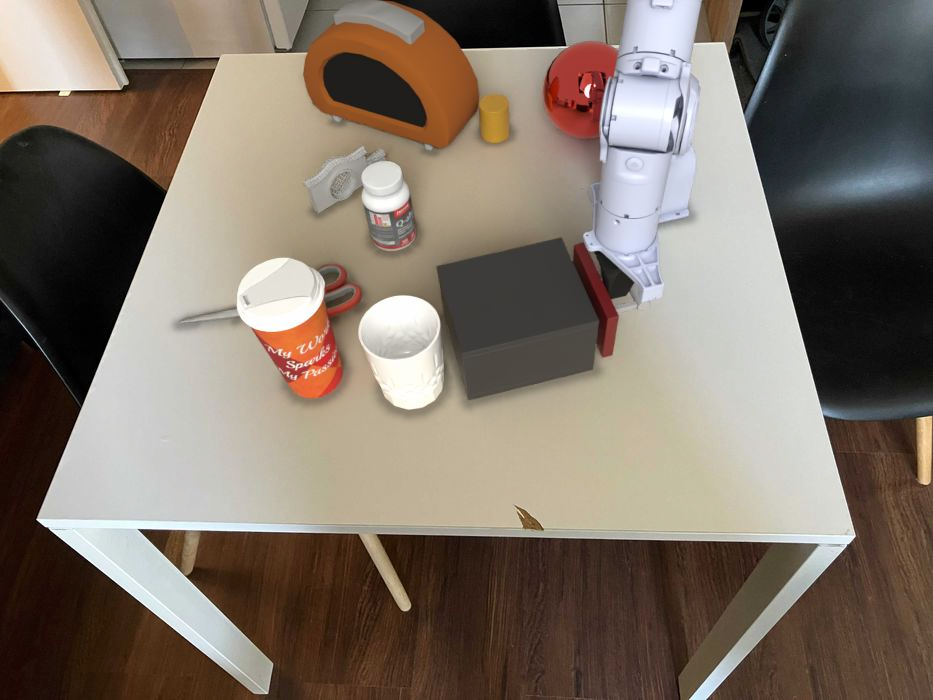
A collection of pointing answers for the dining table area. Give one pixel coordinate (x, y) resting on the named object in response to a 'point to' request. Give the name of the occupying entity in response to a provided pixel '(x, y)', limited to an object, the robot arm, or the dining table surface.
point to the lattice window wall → (332, 169)
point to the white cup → (404, 350)
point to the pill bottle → (388, 206)
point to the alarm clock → (392, 73)
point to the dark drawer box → (518, 317)
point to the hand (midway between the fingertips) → (615, 292)
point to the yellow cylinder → (494, 118)
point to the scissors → (330, 294)
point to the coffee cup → (292, 324)
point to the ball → (578, 87)
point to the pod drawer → (603, 299)
